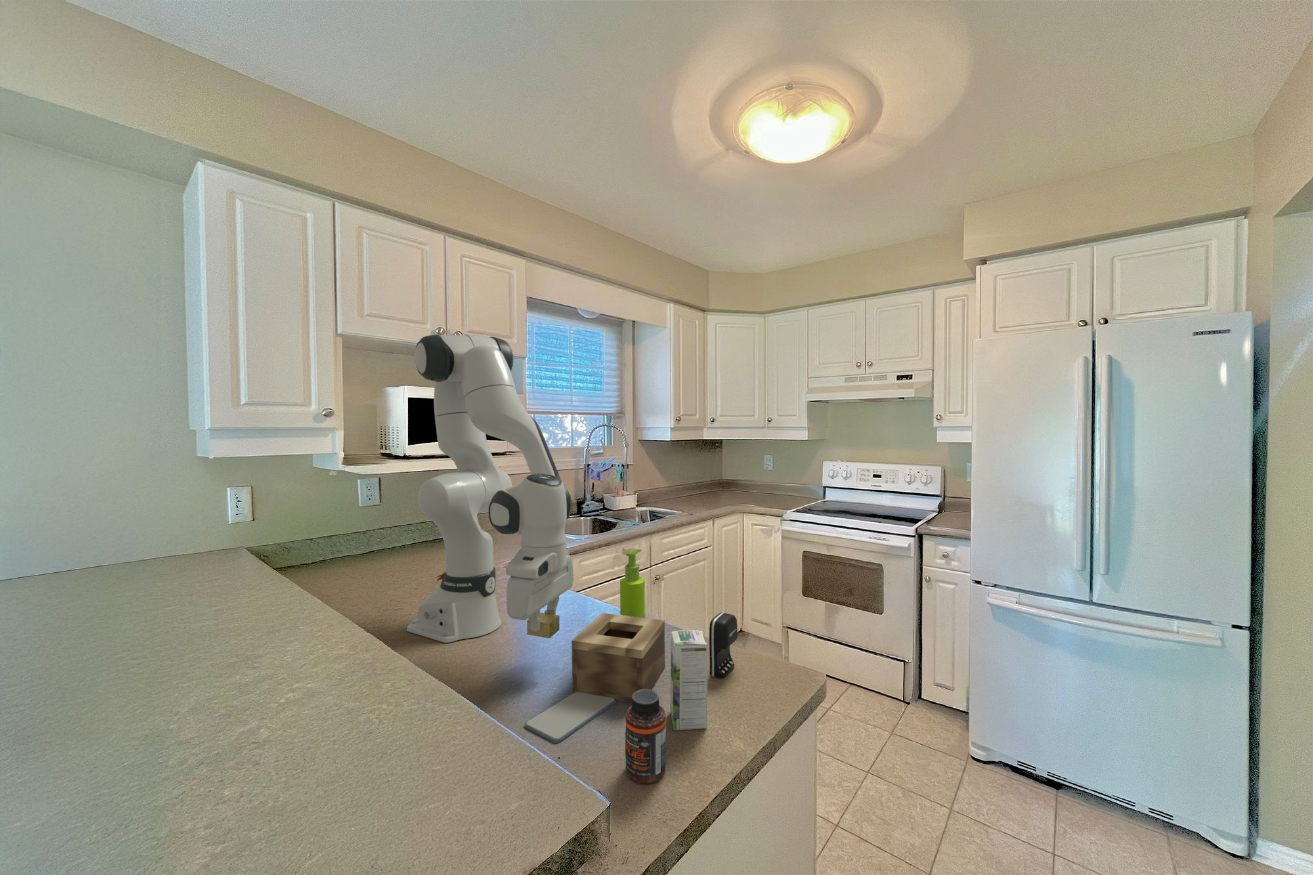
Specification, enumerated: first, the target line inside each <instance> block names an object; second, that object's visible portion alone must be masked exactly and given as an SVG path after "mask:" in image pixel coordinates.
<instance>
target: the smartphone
mask: <svg viewBox="0 0 1313 875" xmlns="http://www.w3.org/2000/svg"><path fill="white" fill-rule="evenodd" d="M616 702H617V700H615V699H614V698H609V697H604V696H598V695H592V694H587V693H581V692H574V693H571V694H570V695H567V696H566V697H565V698H563V699H561V700H560V701H558V702H556V703H554V704H553V705H551V706H549V707H548V708H546V709H545V710H543V711H542V712H540V713H538V714H536V715H534V716H533V717H531V718H529V719H528V720H526V721H525V723H524V727H525V729H526V730H529V731H531V732H533V733H534V734H537V735H539V736H540V737H542V738H544V739H546V740H548V741H550V742H551V743H554V744H560V743H561V742H563V741H564V740H566V739H567V738H568V737H570V736H571V735H573V734H574V733H575V732H577V731H578V730H580V729H581V728H583V727H584V726H585V725H587V724H589V722H591V721H592V720H594V719H595V718H597V717H598V716H600V715H601V714H602V713H604V712H605V711H607V710H608V709H609V708H611V707H612V706H613V705H615V704H616Z"/></svg>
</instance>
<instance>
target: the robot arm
mask: <svg viewBox="0 0 1313 875" xmlns="http://www.w3.org/2000/svg"><path fill="white" fill-rule="evenodd" d="M414 362H415V363H414V364H415V365H416V370H417V371H418V374H419V375H420V376H422V378H423V379H425V380H427V381H431V382H434V387H433V388H434V391H433V408H434V409H433V411H434V412H433V413H434V421H435V429H436V437H437V443H438V444H437V446H438V448H439V449H440V451H441V452H442V454H445V455H446V456H448V457H449V458H450V459H451V460H452V461H453V463H454V464H455V466H456V470H457V471H455V472H447V473H442V474H439V475H437V476H435V477H432V478H430V479H428V480H426V481H424V482H423V483H422V485H421V486H420V488H419V491H418V494H417V502H418V506H419V507H418V508H419V509H420V511H421V512H422V513H423V515H424V516H425V517H426V518H428V519H429V520H431V521H432V522H433V523H434V524H435V525H436V526H437V528H438V530H439V532H440V534H441V536H442V538H443V539H442V540H443V543H444V552H445V553H444V555H445V556H444V557H445V572H443V573H442V574H440V575H438V576H436V578H437V579H436V581H437V582H438V581H439V582H440V580H441V582H440V585H439V587H438V588H436V590H434V591H433V592H432V593H431V594H429V595H428V596H427V597H426V598H425V599H423V600H422V602H421V603H420V604H419V607H418V611H417V618H415V619H414V620H412V621H411V622H409V623H408V625H407V627H406V632H408V633H411V634H414V635H419V636H422V637H425V638H428V639H431V640H435V641H437V642H440V643H452V642H456V641H458V640H464V639H470V638H477V637H481V636H485V635H487V634H489V633H492V632H494V631H496V630H497V629H499V628H500V627H501V625H502V619H501V617H500V613H499V608H498V604H497V597H496V584H497V577H496V568H495V567H494V541H493V540H494V539H493V537H492V536H491V534H490V533H488V532H487V531H486V530H483V529H482V527H481V526H480V523H479V519H478V514H481V513H485V512H488V519H489V522H490V524H491V526H492V527H493V528H494V529H495V530H496V531H497V532H498V533H500V534H502V535H516V534H518V535H520V536H521V542H520V548H519V549H518V551H517V552H516V554H515V555H514V556H513V558H512V559H511V560H510V561H509V562H508V563H507V565H506V566H505V567H506V568H505V574H506V575H507V576H509V578H508V579H507V580H508V581H507V583H506V584H507V585H506V612H507V615H508V616H509V618H511V619H512V620H519V621H525V620H526V621H527V620H528V619H529V621H530V629H531V630H532V631H538V630H540V629H541V628H542V620H540V619H539V614H540V613H541V609H544V608H545V607H546V609H545V610H544V613H545V614H552V615H557V614H556V613H557V607H558V606H559V601H560V596H561V595H563V594H564V593H566V592H567V591H569V589H571V588H572V587H573V584H574V581H575V578H574V562H573V558H572V556H571V555H570V549H568V547H567V537H566V530H565V529H566V528H565V527H566V523H567V521H568V519H569V517H570V516H571V513H572V507H573V501H572V497H571V494H570V492H569V489H568V488H567V487H566V485H565V483H564V482H563V480H562V478H561V476H560V474H559V471H558V469H557V467H556V464H555V461H554V459H553V457H552V453H551V452H550V448H549V446H548V444H547V441H546V438H545V437H544V434H543V432H542V430H541V428H540V426H539V423H538V422H537V420H536V419H535V418H533V417H532V416H531V415H530V414H529V413H528V411H527V410H526V409H525V407H524V405H523V404H522V402H521V399H520V398H519V395H518V392H517V388H516V383H515V380H514V377H513V374H512V372H511V371H513V370H512V369H513V365H514V354H513V349H512V348H511V346H510V344H509V342H508V341H506V340H505V339H502V338H499V337H496V336H489V337H487V336H483V335H475V334H447V335H446V334H445V335H440V334H431V335H430V334H429V335H426V336H422V337H421V338H420V339H419V341H418V342H417V343H416V346H415V352H414ZM486 435H487V436H490V437H494V438H496V439H500V440H503V441H505V442H508V443H509V444H511V445H512V446H514V447H516V448H517V449H518V450H519V451H520V452H521V453H522V455H523V457H524V459H525V461H526V464H527V467H528V469H529V472H530V474H528V475H527V476H525V477H524V478H523V480H522V481H521V482H519V483H518V484H515V485H514V486H513V482H512V480H511V477H510V476H509V475H508V473H507V472H505V471H504V470H503V469H501V468H500V466H499V465H498V463H497V462H496V460H495V459H494V457H493V454H492V453H491V450H490V448H489V445H488V444H489V443H488V441H487V436H486Z"/></svg>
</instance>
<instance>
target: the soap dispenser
mask: <svg viewBox="0 0 1313 875" xmlns="http://www.w3.org/2000/svg"><path fill="white" fill-rule="evenodd" d="M640 552H642V549H640V548H639V549H637V548H631V549H630V550H628V551H627V552H626V553H625V556H626V557H628V563H627V564H625V566H624V577H622V578H621V579H620V580H619V608H620V609H619V612H620V613H619V615H623V616H632V617H640V618H646V599H645V598H646V594H645V591H646V588H645V586H646V585H645V584H646V582H645V579H644V578H643V577H641V576H640V564H638V563H636V560H637V559H636V556H637V554H638V553H640Z"/></svg>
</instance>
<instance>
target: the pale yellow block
mask: <svg viewBox="0 0 1313 875" xmlns="http://www.w3.org/2000/svg"><path fill="white" fill-rule="evenodd" d="M560 618H561V617H560V615H557V614H556V615H552V614H545V612H540V614H539V619H540V620H542V628H541V629H540V630H538V631H532V630H531V629H530V621H529V619H526V624H527V625H526V634H527V636H533V637H540V638H545V639H551V638H553V636H554V635H555V634H556V633H557V632H559V631H560Z"/></svg>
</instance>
